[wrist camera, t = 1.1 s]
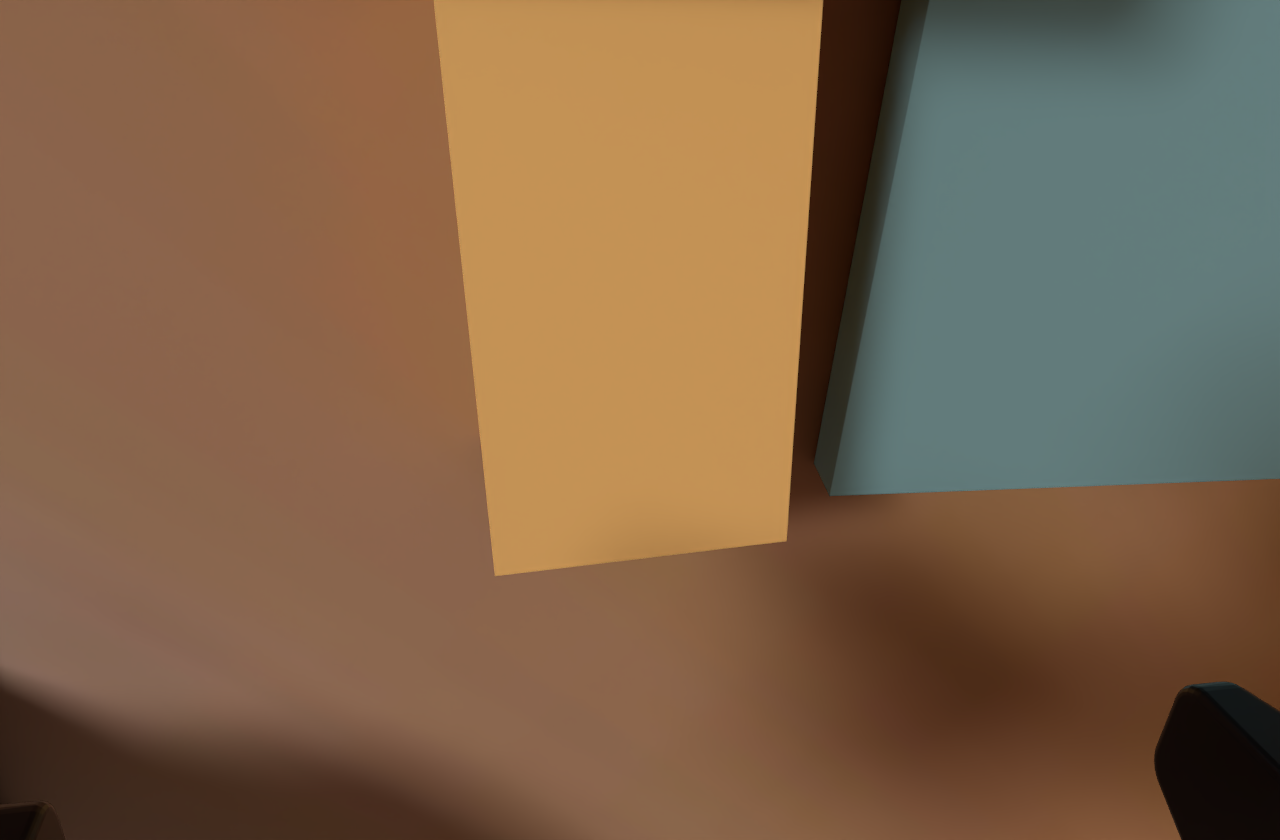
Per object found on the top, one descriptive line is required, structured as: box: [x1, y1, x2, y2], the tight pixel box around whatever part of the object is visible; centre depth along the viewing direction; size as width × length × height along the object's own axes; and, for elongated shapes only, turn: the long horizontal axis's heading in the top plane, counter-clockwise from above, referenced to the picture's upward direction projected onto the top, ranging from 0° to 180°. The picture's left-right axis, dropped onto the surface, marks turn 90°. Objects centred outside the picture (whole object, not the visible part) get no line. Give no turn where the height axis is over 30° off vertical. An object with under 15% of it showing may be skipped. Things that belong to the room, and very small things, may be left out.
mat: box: [814, 0, 1280, 496], centre depth 19 cm, size 16×9×1 cm, turn 176°
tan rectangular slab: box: [434, 0, 823, 576], centre depth 16 cm, size 13×4×4 cm, turn 1°
